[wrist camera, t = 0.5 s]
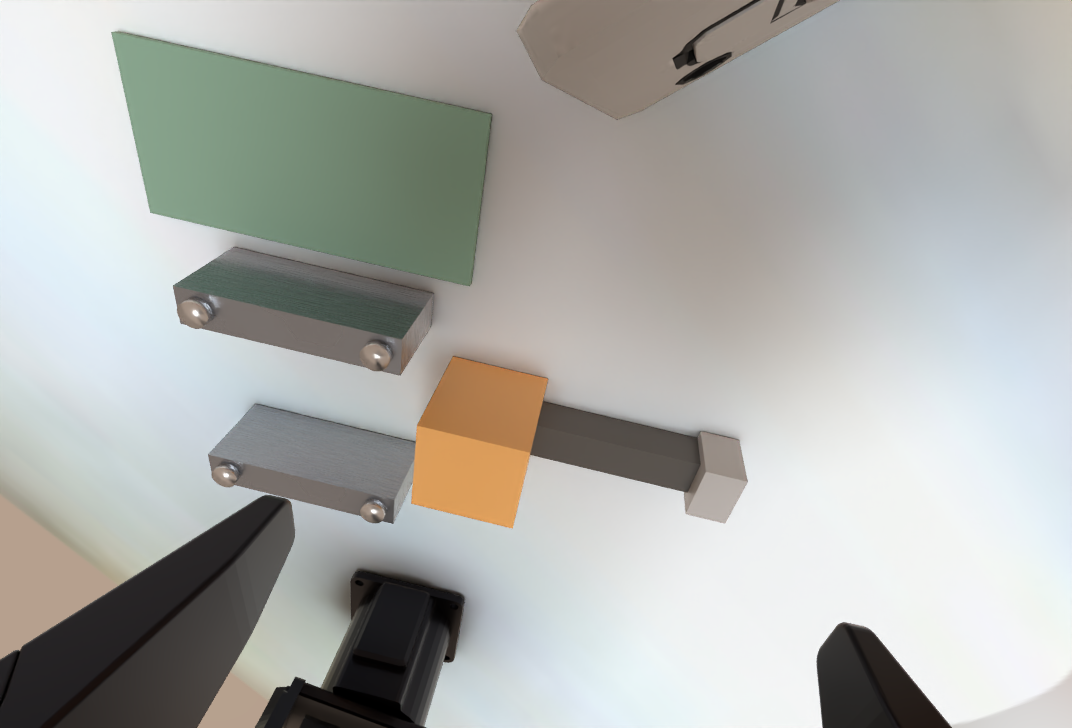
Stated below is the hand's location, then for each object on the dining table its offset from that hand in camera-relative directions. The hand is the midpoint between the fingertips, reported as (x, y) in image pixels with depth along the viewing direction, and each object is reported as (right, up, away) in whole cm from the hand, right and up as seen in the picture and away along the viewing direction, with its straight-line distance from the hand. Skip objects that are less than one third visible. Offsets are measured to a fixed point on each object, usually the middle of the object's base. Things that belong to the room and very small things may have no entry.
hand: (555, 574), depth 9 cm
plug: (+2, +1, +15) cm, 15 cm away
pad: (-8, +10, +11) cm, 17 cm away
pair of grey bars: (-9, +3, +15) cm, 18 cm away
